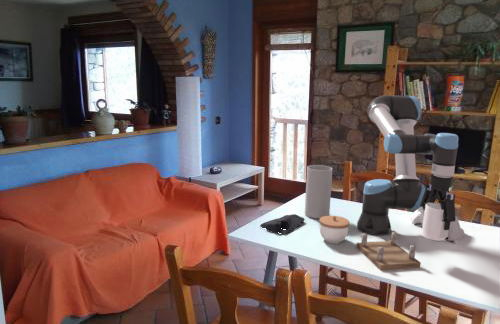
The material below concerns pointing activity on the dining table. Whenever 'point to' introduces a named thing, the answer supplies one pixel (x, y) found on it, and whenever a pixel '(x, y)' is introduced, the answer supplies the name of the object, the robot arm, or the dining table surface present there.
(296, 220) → the dark slate chunk
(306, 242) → the dining table surface
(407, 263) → the peg board
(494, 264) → the dining table surface
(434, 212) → the mug
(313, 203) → the cylinder vase
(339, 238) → the lidded bowl
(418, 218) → the bust
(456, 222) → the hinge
